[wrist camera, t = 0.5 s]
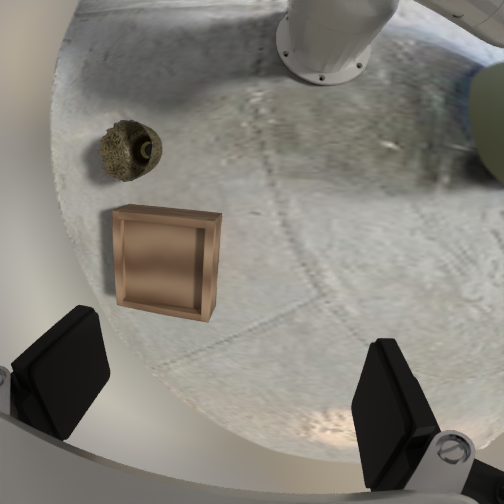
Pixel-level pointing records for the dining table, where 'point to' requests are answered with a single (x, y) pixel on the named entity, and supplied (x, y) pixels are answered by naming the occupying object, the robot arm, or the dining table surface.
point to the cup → (129, 150)
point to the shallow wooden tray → (166, 260)
